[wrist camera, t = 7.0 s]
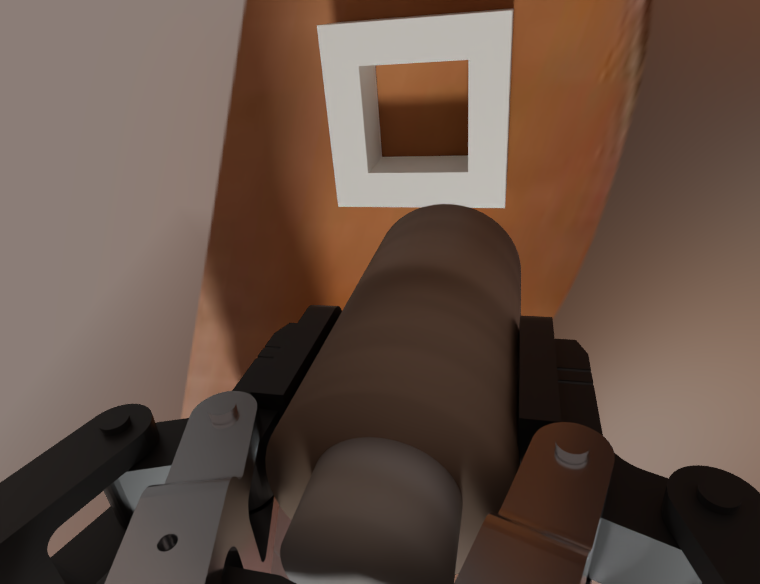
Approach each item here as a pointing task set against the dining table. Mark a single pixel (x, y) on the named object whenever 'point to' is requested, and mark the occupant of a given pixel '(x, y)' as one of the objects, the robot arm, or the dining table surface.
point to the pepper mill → (406, 410)
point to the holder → (361, 113)
